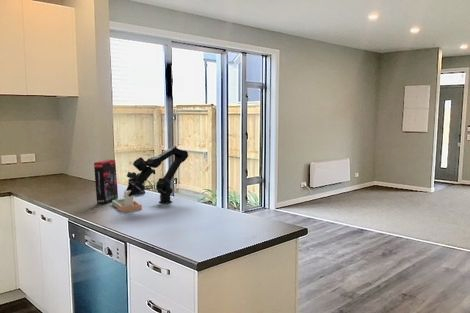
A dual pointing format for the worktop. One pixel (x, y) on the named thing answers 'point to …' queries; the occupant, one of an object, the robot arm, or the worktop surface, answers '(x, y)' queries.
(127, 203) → the cream rectangular block
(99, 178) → the graphics card box
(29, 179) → the worktop surface
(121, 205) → the frame
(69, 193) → the worktop surface
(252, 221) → the worktop surface
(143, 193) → the small box
